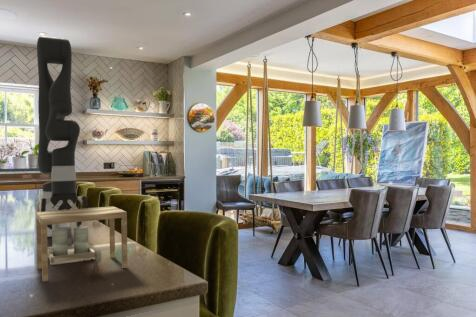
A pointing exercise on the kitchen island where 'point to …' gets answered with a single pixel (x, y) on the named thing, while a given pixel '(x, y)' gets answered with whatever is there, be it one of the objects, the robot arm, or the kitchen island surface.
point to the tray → (70, 246)
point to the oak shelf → (78, 216)
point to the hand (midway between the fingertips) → (64, 227)
